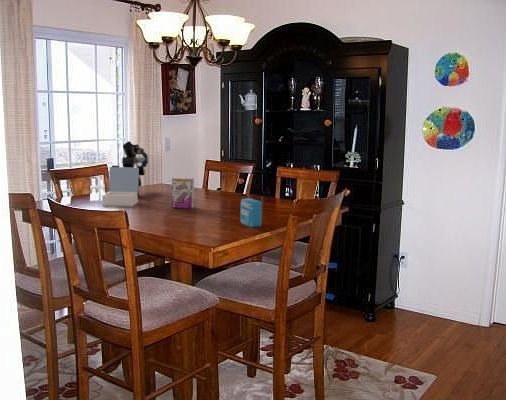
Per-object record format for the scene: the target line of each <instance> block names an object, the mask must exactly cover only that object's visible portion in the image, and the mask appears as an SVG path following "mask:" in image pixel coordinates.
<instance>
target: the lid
mask: <svg viewBox="0 0 506 400" xmlns="http://www.w3.org/2000/svg"><path fill="white" fill-rule="evenodd" d="M139 177H140V175H139V168H132V167H123V166H119V167H112V166H109V178H108V179H109V180H108V181H109V183H108V186H109V187H108V192H109V191H111V192H138V179H139Z"/></svg>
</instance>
